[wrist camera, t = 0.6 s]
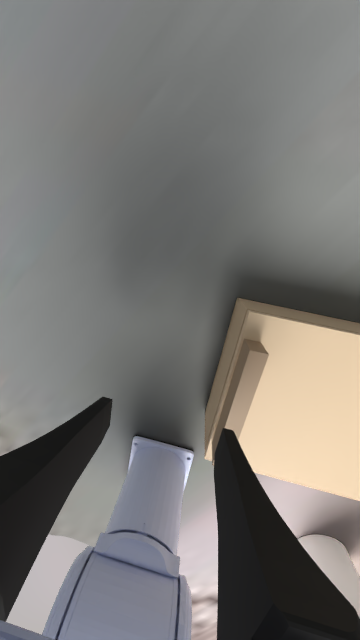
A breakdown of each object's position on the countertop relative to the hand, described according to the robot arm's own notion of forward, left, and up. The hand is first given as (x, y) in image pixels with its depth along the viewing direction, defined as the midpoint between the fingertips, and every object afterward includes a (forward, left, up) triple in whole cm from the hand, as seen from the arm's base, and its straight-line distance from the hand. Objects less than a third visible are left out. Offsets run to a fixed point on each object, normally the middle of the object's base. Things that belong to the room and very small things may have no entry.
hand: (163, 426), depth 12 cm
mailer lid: (0, -12, -5) cm, 13 cm away
